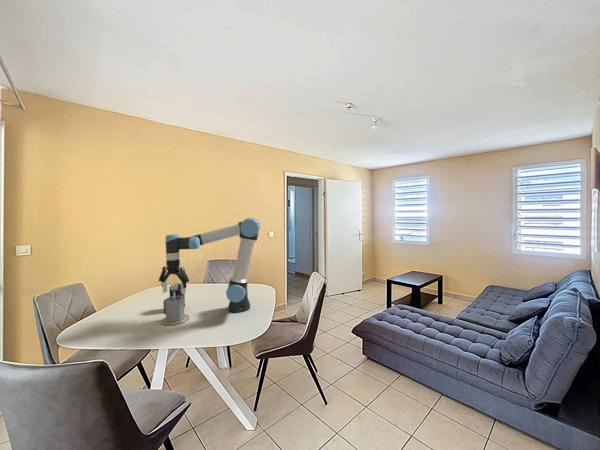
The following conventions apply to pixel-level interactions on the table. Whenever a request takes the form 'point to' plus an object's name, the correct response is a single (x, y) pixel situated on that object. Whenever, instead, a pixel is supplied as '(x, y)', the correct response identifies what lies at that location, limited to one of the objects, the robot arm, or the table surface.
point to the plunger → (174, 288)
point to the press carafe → (174, 311)
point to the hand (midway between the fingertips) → (174, 292)
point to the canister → (178, 292)
